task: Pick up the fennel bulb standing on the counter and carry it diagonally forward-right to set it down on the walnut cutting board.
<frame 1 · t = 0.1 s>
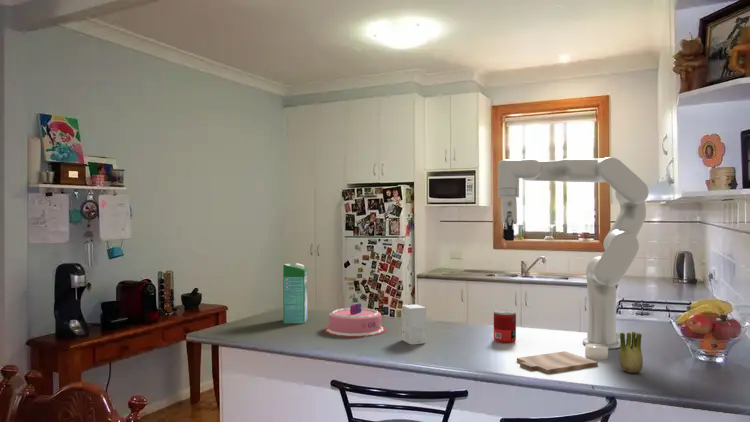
hand: (508, 239, 203), 37 cm above the counter, tool pointing down, fingers open, 9 cm apart
board: (556, 363, 173), on the counter
fennel bulb: (631, 372, 164), on the counter
cake: (355, 331, 221), on the counter
white rounded block: (596, 357, 181), on the counter
canned food: (504, 341, 203), on the counter
small box: (413, 342, 202), on the counter
milk carton: (295, 321, 238), on the counter
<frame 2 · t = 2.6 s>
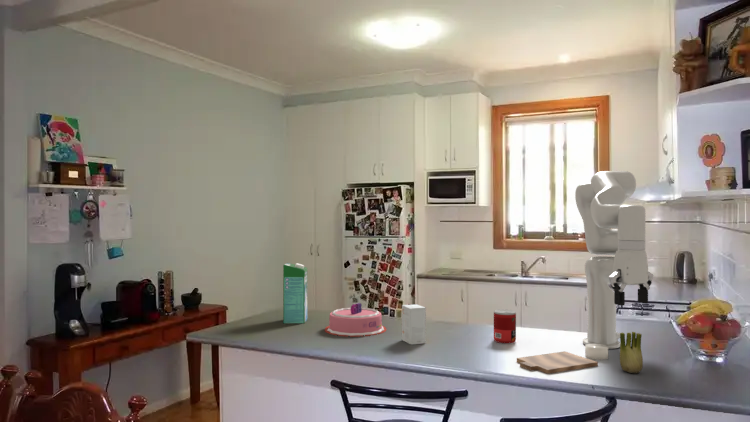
hand: (631, 303, 164), 20 cm above the counter, tool pointing down, fingers open, 9 cm apart
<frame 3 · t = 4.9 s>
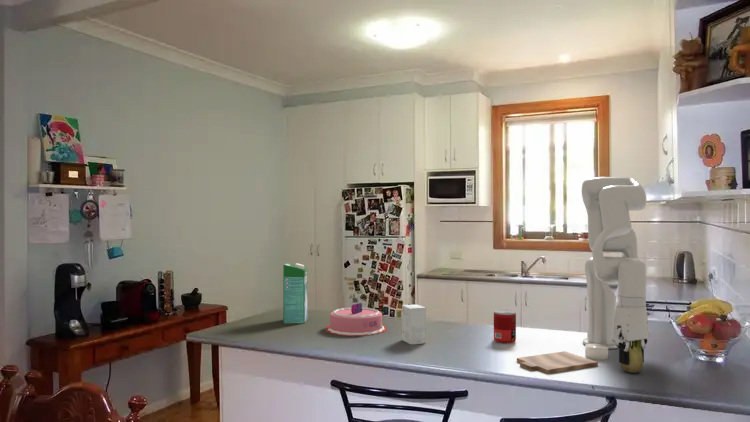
hand: (631, 362, 164), 3 cm above the counter, tool pointing down, fingers closed on fennel bulb, 5 cm apart
fennel bulb: (631, 372, 164), on the counter, touching gripper
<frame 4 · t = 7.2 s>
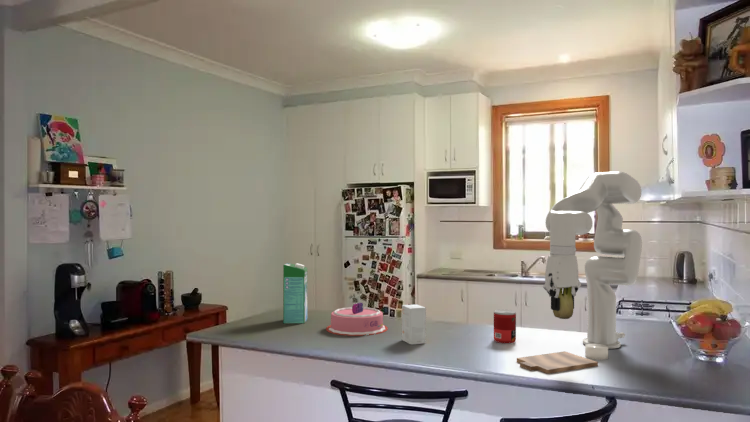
hand: (562, 308, 172), 17 cm above the counter, tool pointing down, fingers closed on fennel bulb, 5 cm apart
fennel bulb: (562, 319, 172), point 14 cm above the counter, touching gripper
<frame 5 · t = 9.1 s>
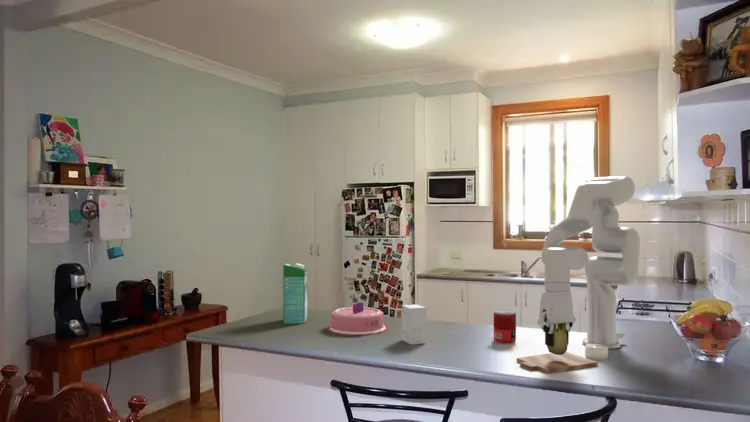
hand: (556, 344, 173), 6 cm above the counter, tool pointing down, fingers closed on fennel bulb, 5 cm apart
fennel bulb: (557, 354, 173), point 3 cm above the counter, touching gripper
when the fingers open (6 cm above the counter, at t = 9.6 s): fennel bulb drops 1 cm, resting on board.
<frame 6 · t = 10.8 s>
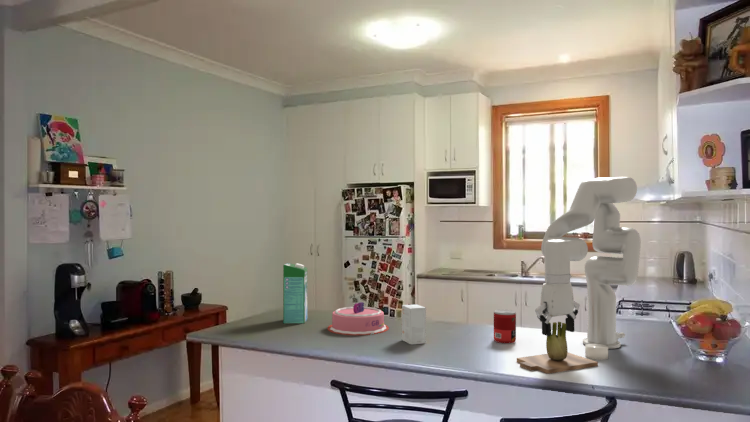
hand: (558, 333, 174), 10 cm above the counter, tool pointing down, fingers open, 9 cm apart
fennel bulb: (557, 360, 173), point 1 cm above the counter, touching board
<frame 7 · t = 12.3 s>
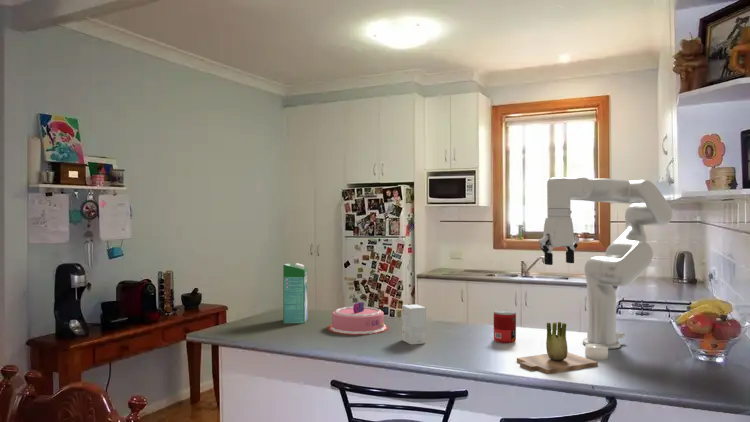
hand: (559, 263, 188), 30 cm above the counter, tool pointing down, fingers open, 9 cm apart
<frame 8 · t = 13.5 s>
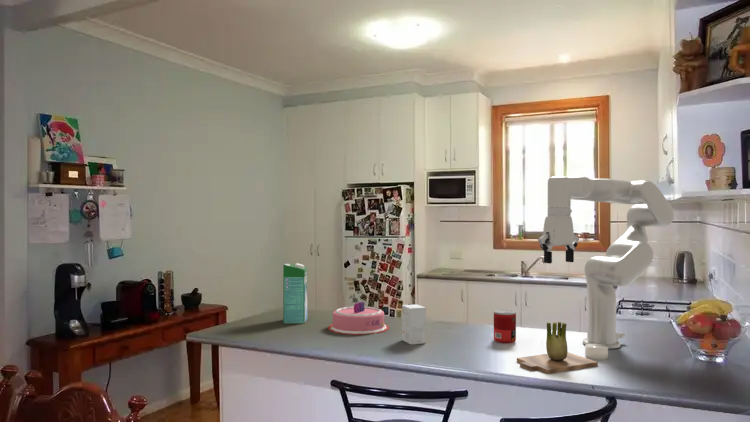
hand: (558, 262, 189), 30 cm above the counter, tool pointing down, fingers open, 9 cm apart
at the end: fennel bulb inside the target area on the board (0.2 cm from its centre), point 1.0 cm above the board's base; the gripper is holding nothing; white rounded block moved 0.2 cm from its start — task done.
